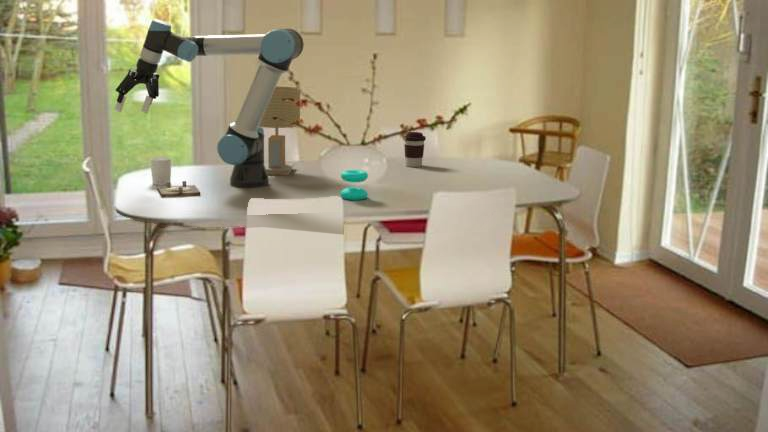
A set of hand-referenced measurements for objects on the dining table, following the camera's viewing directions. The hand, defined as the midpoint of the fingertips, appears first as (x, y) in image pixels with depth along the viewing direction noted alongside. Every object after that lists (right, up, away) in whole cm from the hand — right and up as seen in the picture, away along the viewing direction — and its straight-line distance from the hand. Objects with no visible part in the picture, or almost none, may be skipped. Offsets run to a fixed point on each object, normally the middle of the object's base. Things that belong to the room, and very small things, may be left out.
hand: (131, 111), depth 346 cm
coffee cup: (+110, -18, +61) cm, 127 cm away
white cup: (+10, -28, +8) cm, 30 cm away
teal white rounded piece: (+86, -34, -10) cm, 93 cm away
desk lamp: (+51, -21, +39) cm, 68 cm away
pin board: (+20, -31, -8) cm, 38 cm away
